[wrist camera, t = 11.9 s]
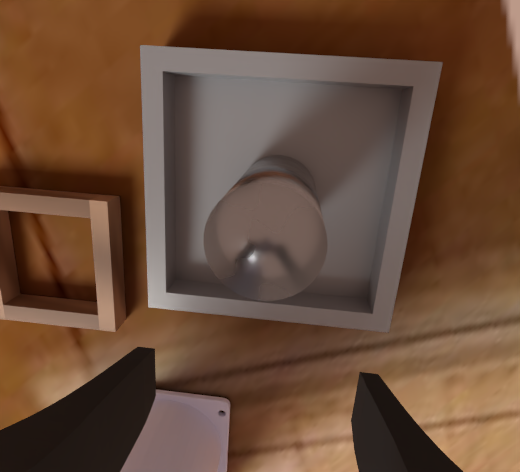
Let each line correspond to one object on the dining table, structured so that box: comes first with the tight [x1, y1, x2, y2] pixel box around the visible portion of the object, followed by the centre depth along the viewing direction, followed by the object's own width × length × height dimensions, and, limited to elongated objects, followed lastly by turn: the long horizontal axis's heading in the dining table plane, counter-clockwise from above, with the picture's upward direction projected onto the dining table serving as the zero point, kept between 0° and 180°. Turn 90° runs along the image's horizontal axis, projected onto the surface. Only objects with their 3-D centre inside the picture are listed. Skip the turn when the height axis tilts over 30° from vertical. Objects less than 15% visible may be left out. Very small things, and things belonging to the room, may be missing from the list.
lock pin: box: [203, 155, 328, 301], centre depth 16 cm, size 4×4×8 cm
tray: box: [140, 45, 443, 333], centre depth 19 cm, size 13×13×2 cm
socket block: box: [0, 186, 126, 332], centre depth 22 cm, size 8×8×2 cm
